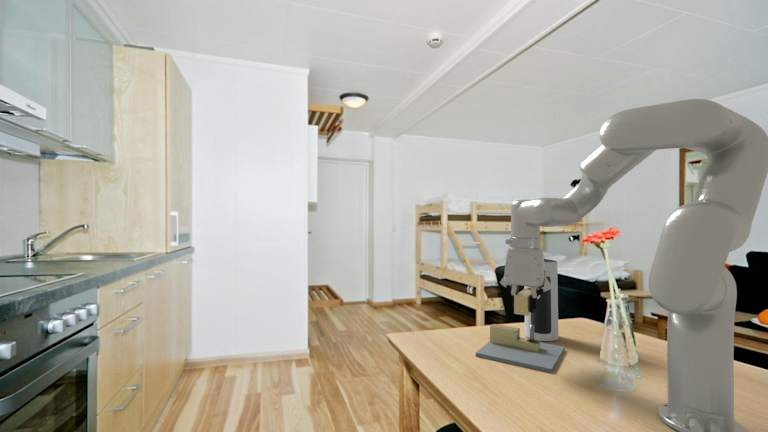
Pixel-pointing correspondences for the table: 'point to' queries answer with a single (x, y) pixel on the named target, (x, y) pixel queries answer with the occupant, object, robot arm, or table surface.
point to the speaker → (545, 308)
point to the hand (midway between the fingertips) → (524, 309)
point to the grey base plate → (524, 356)
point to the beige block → (523, 302)
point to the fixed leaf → (513, 338)
